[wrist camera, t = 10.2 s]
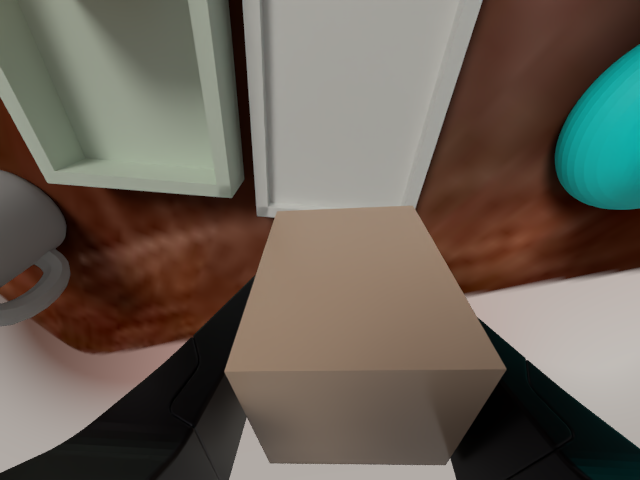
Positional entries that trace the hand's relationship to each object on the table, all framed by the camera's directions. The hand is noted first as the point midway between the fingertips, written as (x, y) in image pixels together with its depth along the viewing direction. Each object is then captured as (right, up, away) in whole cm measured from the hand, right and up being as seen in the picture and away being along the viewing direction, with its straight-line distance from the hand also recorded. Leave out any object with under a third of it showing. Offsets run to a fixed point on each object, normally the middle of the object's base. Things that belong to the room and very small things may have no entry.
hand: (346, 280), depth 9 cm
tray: (+1, +10, +6) cm, 12 cm away
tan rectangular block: (0, +1, +1) cm, 1 cm away
